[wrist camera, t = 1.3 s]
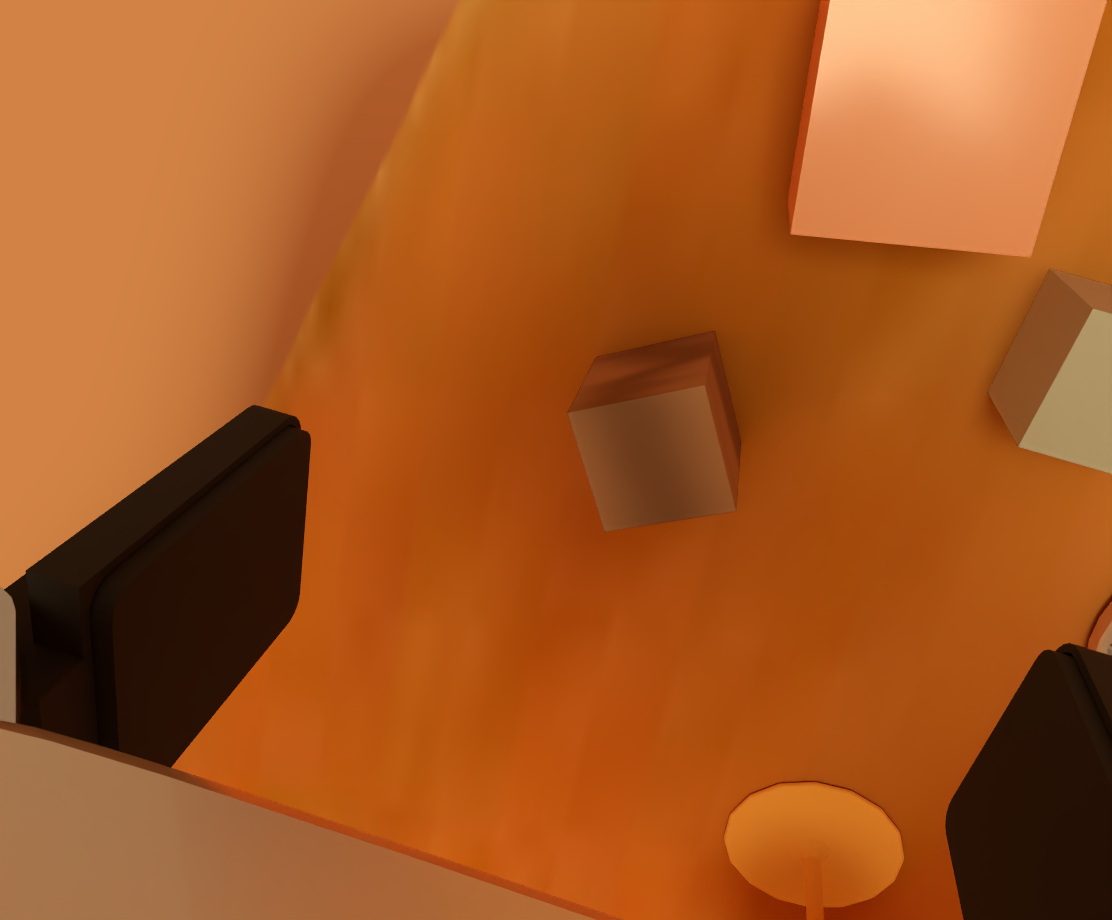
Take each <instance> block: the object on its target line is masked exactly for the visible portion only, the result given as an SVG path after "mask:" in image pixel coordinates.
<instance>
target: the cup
mask: <svg viewBox="0 0 1112 920" xmlns="http://www.w3.org/2000/svg"><path fill="white" fill-rule="evenodd" d="M724 841H725V845H726V848H727V852H728V855H729V859H730V862H731V863H732V864H733V865H734V867H735V868H736V869H737V870H738V871H739V872H740V873H741V875H742V876H743V877H744V878H745V879H746V880H747V881H748V883H750V884H751V885H753V886H755V887H757V888H758V889H760V890H762V891H764V892H765V893H767V894H769V895H771V896H772V897H774V898H776V899H778V900H782V901H786V902H790V903H794V904H798V905H802V906H805V907H806V920H824V908H823V907H845V906H848V905H852V904H855V903H858V902H862V901H865V900H868V899H872V898H874V897H875V896H876V895H877V894H879V893H880V892H881V891H883V890H884V889H885V888H886V887H888V886H889V885H890V884H892V883H893V882H894V881H895V879H896V877H897V875H898V872H899V870H900V868H901V865H902V863H903V861H904V853H903V847H902V842H901V836H900V831H899V830H898V829H897V827H896V826H895V825H894V824H893V822H892V821H891V820H890V819H889V817H888V816H887V815H886V813H885V812H884V811H883V810H882V808H880V807H879V806H877V805H875V804H874V803H872V802H870V801H868V800H867V799H865V798H863V797H862V796H860V795H858V794H856V793H855V792H853V791H851V790H848V789H843V788H839V787H835V786H831V785H827V784H822V783H818V782H800V783H779V784H777V785H774V786H771V787H769V788H766V789H763V790H761V791H758V792H755V793H753V794H750V795H749V796H748V797H747V798H746V799H745V800H744V801H743V802H741V803H740V804H739V805H738V806H737V807H736V808H735V809H734V810H733V811H732V812H731V813H730V816H729V820H728V823H727V827H726V830H725V834H724Z"/></svg>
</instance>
